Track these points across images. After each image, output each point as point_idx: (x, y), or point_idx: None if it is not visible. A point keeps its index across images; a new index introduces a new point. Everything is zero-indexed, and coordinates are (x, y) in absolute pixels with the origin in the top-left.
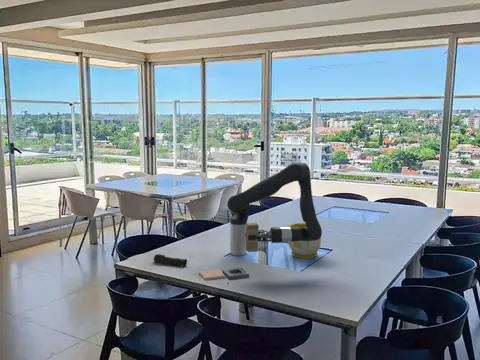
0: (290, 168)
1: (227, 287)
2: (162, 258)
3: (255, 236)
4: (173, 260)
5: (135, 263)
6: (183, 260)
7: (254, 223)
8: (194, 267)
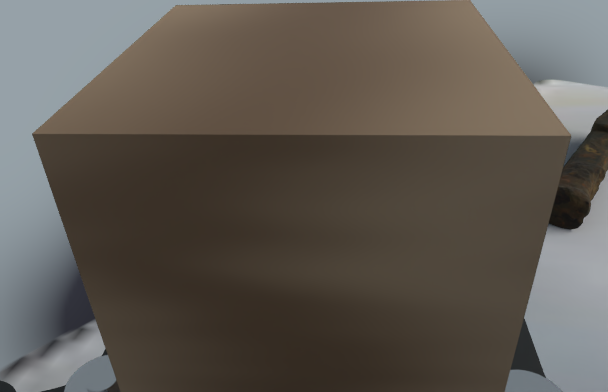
0: None
1: None
2: (590, 133)
3: (107, 357)
4: (567, 162)
5: (572, 104)
6: None
7: (371, 86)
8: (539, 259)
